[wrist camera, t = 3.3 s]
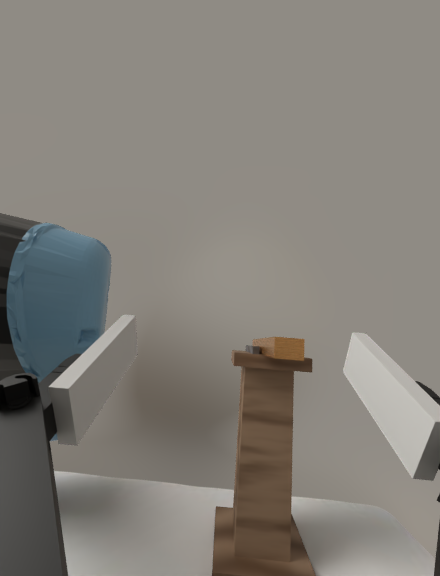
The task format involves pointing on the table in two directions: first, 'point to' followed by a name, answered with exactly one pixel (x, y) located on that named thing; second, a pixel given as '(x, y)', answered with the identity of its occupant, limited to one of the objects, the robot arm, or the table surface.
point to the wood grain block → (281, 348)
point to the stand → (262, 476)
